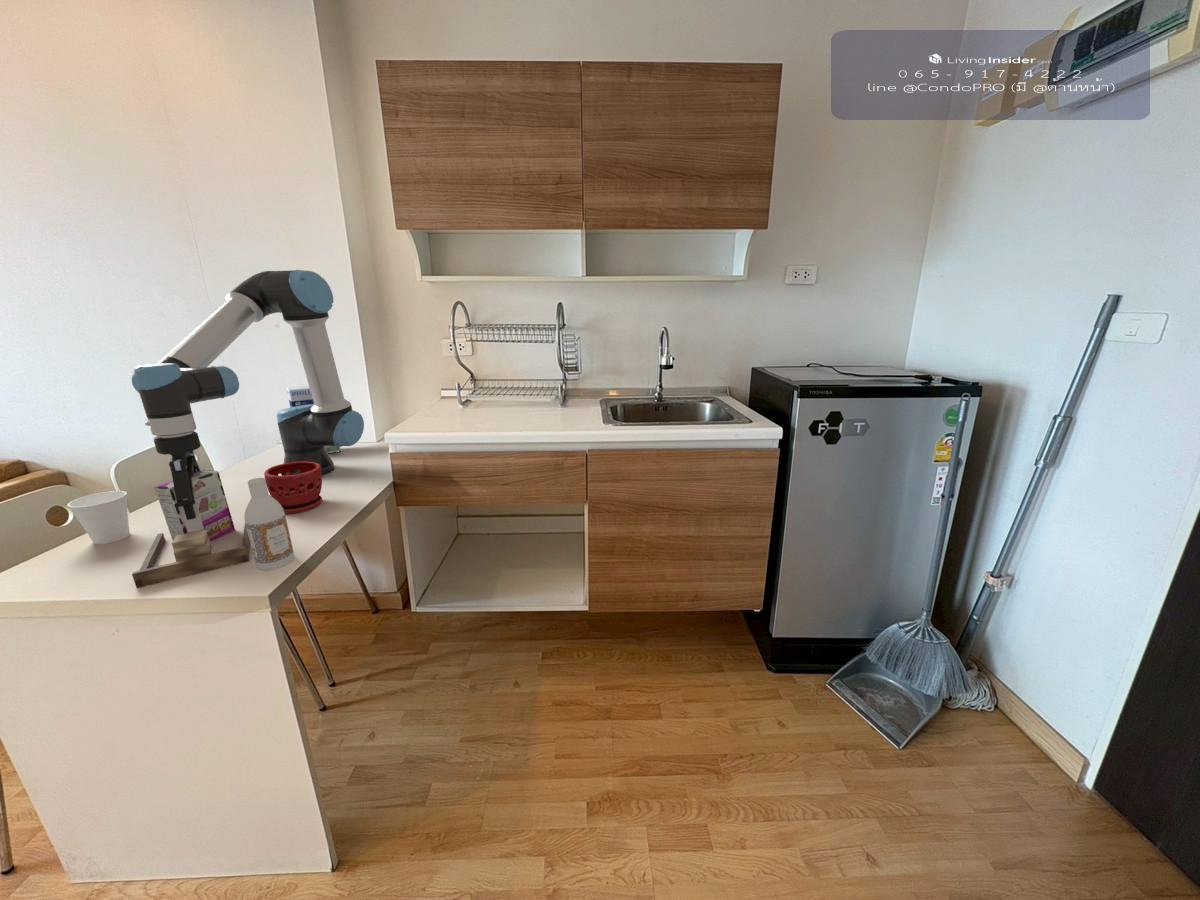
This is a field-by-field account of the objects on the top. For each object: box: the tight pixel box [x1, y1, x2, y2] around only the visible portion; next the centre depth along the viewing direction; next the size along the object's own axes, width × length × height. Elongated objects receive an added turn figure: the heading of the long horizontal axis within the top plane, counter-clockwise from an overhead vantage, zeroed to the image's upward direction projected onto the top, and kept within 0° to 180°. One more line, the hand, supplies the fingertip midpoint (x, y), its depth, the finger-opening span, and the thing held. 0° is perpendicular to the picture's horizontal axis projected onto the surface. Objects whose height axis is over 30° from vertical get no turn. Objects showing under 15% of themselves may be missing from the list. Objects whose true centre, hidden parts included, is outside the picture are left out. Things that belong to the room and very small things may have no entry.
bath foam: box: [244, 477, 296, 572], centre depth 98 cm, size 7×7×20 cm
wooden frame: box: [131, 523, 251, 589], centre depth 106 cm, size 18×24×4 cm
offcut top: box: [171, 530, 208, 553], centre depth 99 cm, size 5×4×2 cm
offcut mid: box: [173, 537, 213, 562], centre depth 100 cm, size 6×5×2 cm
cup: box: [66, 490, 131, 545], centre depth 111 cm, size 10×10×11 cm
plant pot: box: [263, 462, 323, 515], centre depth 129 cm, size 13×13×12 cm
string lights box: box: [286, 385, 342, 454], centre depth 176 cm, size 13×8×26 cm, turn 130°
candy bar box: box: [153, 469, 236, 543], centre depth 109 cm, size 11×5×16 cm, turn 168°
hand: (199, 520), depth 110 cm, fingers open, 13 cm apart
